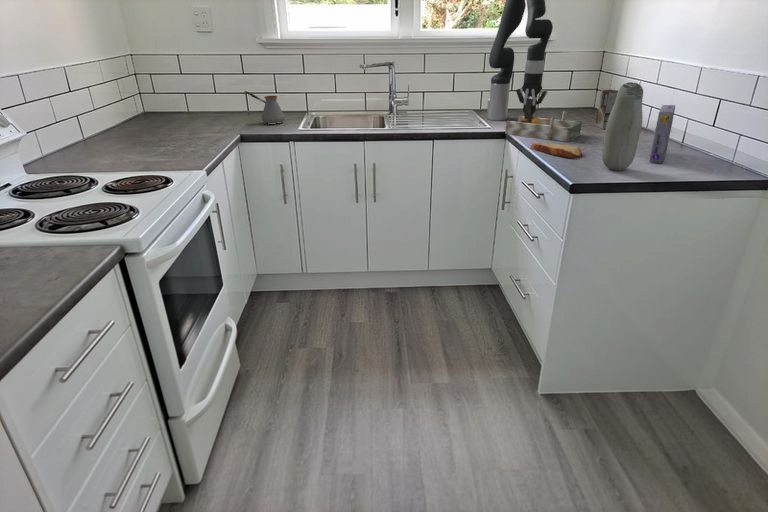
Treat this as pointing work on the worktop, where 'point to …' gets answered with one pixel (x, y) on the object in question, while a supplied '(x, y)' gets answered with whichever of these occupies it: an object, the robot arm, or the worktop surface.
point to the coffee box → (605, 107)
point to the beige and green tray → (545, 129)
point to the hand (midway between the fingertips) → (529, 113)
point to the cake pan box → (662, 133)
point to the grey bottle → (623, 127)
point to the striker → (528, 112)
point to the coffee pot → (270, 109)
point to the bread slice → (558, 150)
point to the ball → (535, 120)
